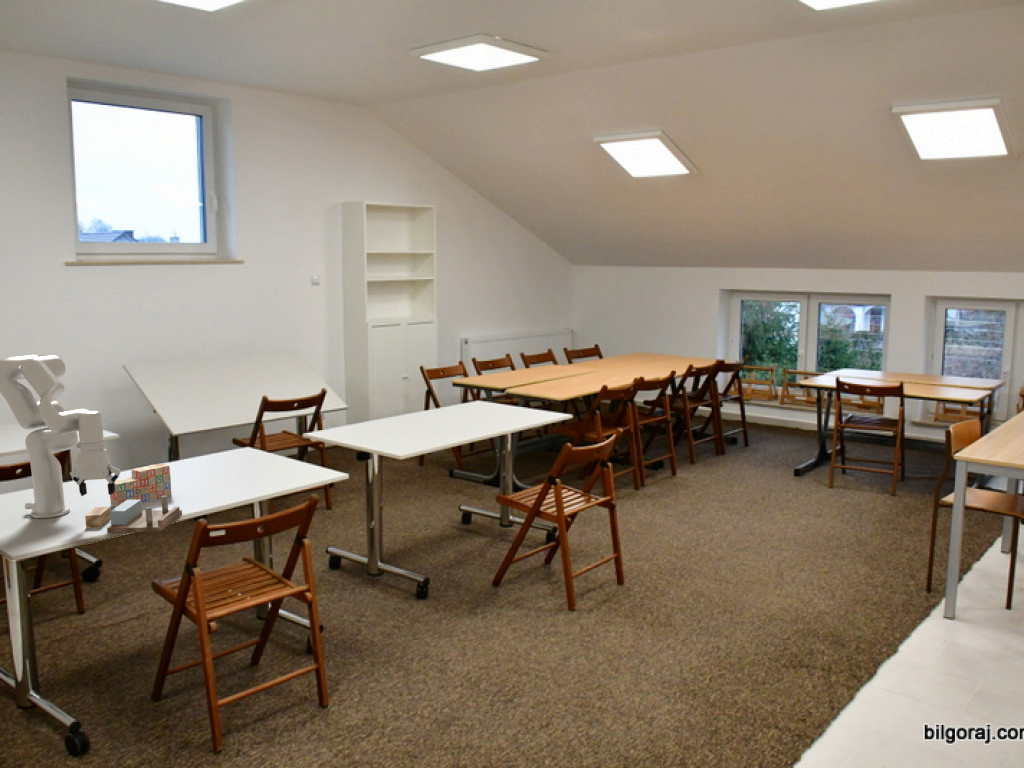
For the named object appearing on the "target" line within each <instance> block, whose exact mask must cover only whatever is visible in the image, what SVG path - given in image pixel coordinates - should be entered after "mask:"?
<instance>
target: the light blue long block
mask: <svg viewBox="0 0 1024 768" xmlns="http://www.w3.org/2000/svg"><path fill="white" fill-rule="evenodd" d="M142 505H143V502H141V500H126V501H125V502H123V503H122V504H120V505H119V506H117V507H114V508H112V509H110V519H109V520H110V526H111V525H126V524H127V523H128V522H130V521H131V520H133V519H134V518H135V517H137V516H138V515H139V514H141V513H142V511H143V506H142Z"/></svg>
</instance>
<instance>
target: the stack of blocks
mask: <svg viewBox="0 0 1024 768" xmlns="http://www.w3.org/2000/svg"><path fill="white" fill-rule="evenodd" d="M170 467H171V466H170V465H168V464H164V463H158V464H150V465H147V466H143V467H142V466H141V467H137V468H133V469H131V477H126V478H122V479H118V480H117V479H116V481H115V482H114V483H115V491H114V493H113V494H111V495H109V497H110V499H109V500H110V506H113V507H114V508H116V507H117V506H119V505H120V504H122V503H123V502H125V501H126V500H141V502H142V503H145V502H151V501H154V500H159V499H161V496H167V497H171V496H172V482H171V480H172V479H171V469H170Z"/></svg>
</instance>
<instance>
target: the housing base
mask: <svg viewBox="0 0 1024 768" xmlns="http://www.w3.org/2000/svg"><path fill="white" fill-rule="evenodd" d="M160 500H161V509H158V510H157V509H155V510H153V509H152V508H153V507H152V506H148V507H147V506H146V507H145V508H144V509H145V510H142V513H141V514H139V515H138V516H137V517H135V518H134V519H133V520H131V521H130V522H128V523H127V524H126V525H111V524H110V526H108V527H107V528H106V531H107V533H140V532H141V533H143V532H145V533H146V532H147V533H148V532H149V533H151V532H152V533H153V532H158V533H159V532H162V531H163V530H164V529H166V528H167V527H168V526H170V524H172V523H173V522H174V521H175V520H176V519H178V518H179V517H180V516H181V515H183V510H182V509H180V506H174V507H173V508H172V509H169V502H168V496H161V498H160Z"/></svg>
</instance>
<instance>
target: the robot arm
mask: <svg viewBox="0 0 1024 768" xmlns="http://www.w3.org/2000/svg"><path fill="white" fill-rule="evenodd" d="M65 373H66V365H65V362H64V361H63V360H62V358H60V357H59V356H57V355H55V354H54V355H52V354H28V355H21V356H18V355H17V356H10V357H5V358H1V359H0V395H1V396H2V397H3V398H4V400H5V401H6V403H7V404H8V406H9V408H10V410H11V411H12V413H13V416H14V417H15V420H16V422H17V423H18V424H19V426H20V427H21V428H22V429H24V430H26V431H27V430H33V431H30V433H28V434H27V435H26V437H25V439H24V440H25V441H24V442H25V448H26V451H27V454H28V458H29V462H30V470H31V480H32V489H33V499H34V502H25V504H24V509H25V510H32V511H30V516H31V517H32V518H33V519H49V518H55V517H60V516H63V515H67V514H68V513H69V512H70V510H71V507H70V506H67V505H66V504H65V496H64V495H65V494H64V484H63V474H62V473H63V471H62V465H61V462H60V461H59V460H58V458H57V457H56V456H55V455H54V454H56V453H60V452H64V451H68V450H72V449H74V448H75V447H76V448H77V449H78V448H79V450H80V451H78V454H77V463H76V464H77V468H76V469H73V470H72V471H70V472H69V475H70V477H71V478H72V480H73V482H75V483H76V484H77V485H78V491H79V494H80V496H81V497H83V496H85V495H87V494H88V491H87V490H88V489H87V483H86V481H92V480H93V481H94V480H95V481H96V480H104V479H105V481H106V482H108V483H107V492H108V495H109V496H110V495H111V494H113V493H114V491H115V483H114V482H115V481H117V479H118V478H119V477H120V474H121V472H122V470H121V469H120V468H118V467H115V466H114V465H112V463H111V459H110V455H109V452H108V449H107V448H106V447H105V441H104V440H105V438H104V430H103V429H104V428H103V421H102V414H101V412H100V411H98V410H89V409H86V408H78V409H72V410H67V411H66V409H64V406H63V405H61V403H60V402H58V401H57V400H58V399H59V398H60V397H61V396H62V394H64V392H65V385H64V384H63V382H62V381H61V380H60V379H59V378H62V377H63V376H64V375H65ZM19 380H20V381H21V380H26V381H27V382H28V383H29V385H30V386H31V387H32V388H33V390H34V391H35V392H36V394H37V395H38V397H39V398H40V399H39V400H40V401H39V400H37V399H36V397H35V396H34V395H33V393H32V391H31V390H30V388H28V387H27V386H26V385H24V384H22V383H21V382H19ZM77 432H78V433H77ZM78 441H79V443H78ZM113 472H114V475H113V474H112V473H113Z"/></svg>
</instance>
